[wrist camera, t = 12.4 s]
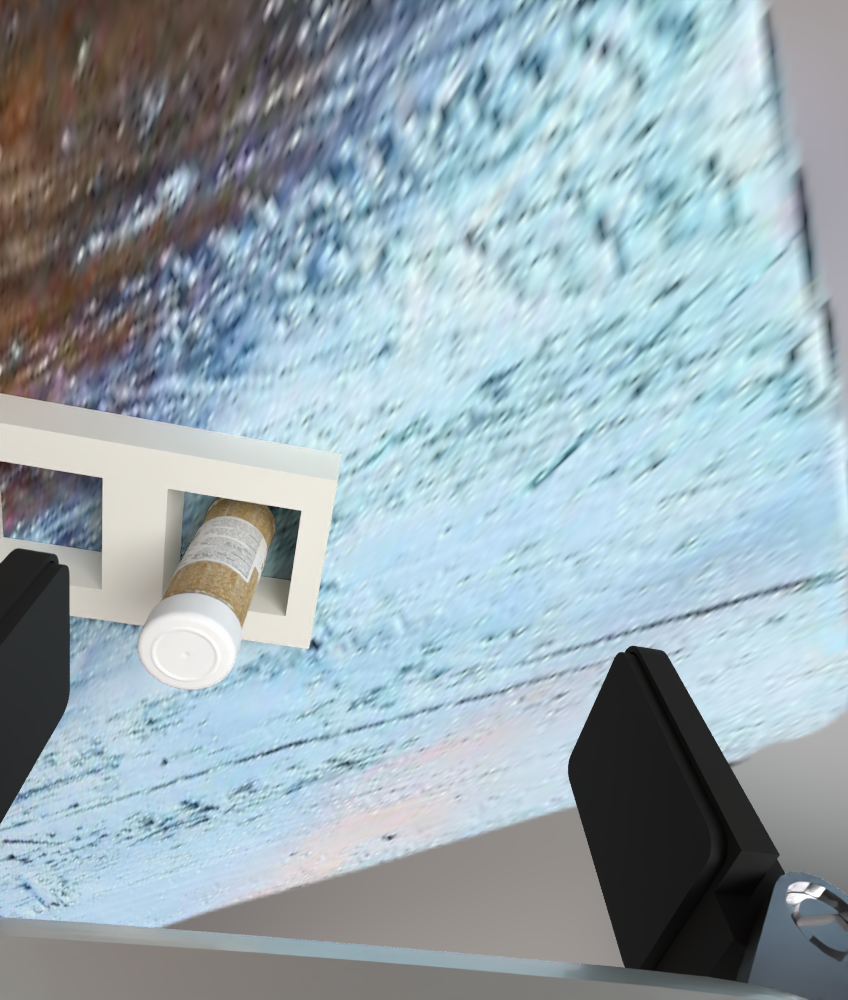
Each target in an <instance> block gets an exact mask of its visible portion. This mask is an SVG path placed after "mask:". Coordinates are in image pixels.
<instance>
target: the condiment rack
mask: <svg viewBox="0 0 848 1000" xmlns="http://www.w3.org/2000/svg"><path fill="white" fill-rule="evenodd" d="M341 459H342V454H339V453H333V452H328V451H322V450H316V449H311V448H305V447H299V446H294V445H288V444H283V443H277V442H271V441H266V440H260V439H254V438H249V437H243V436H238V435H232V434H226V433H221V432H215V431H209V430H204V429H198V428H193V427H187V426H181V425H176V424H170V423H164V422H159V421H153V420H147V419H142V418H136V417H131V416H125V415H119V414H114V413H108V412H102V411H97V410H91V409H86V408H80V407H74V406H69V405H63V404H57V403H52V402H46V401H41V400H35V399H29V398H24V397H18V396H12V395H7V394H1V393H0V461H3V462H9V463H15V464H21V465H27V466H34V467H40V468H46V469H52V470H58V471H64V472H70V473H76V474H82V475H88V476H94V477H100V478H103V500H102V552H98V551H92V550H85V549H79V548H72V547H65V546H59V545H52V544H46V543H39V542H32V541H26V540H19V539H12V538H6V537H3V521H2V506H1V490H0V563H1V562H2V561H3V560H4V559H5V558H6V557H7V555H8V554H9V553H10V552H11V551H13V550H14V549H17V548H21V549H27V550H33V551H40V552H46V553H52V554H55V555H57V557H58V560H59V564H63V565H67V566H68V568H69V573H70V616H76V617H83V618H91V619H98V620H105V621H112V622H119V623H127V624H134V625H141V626H144V624H145V622H146V620H147V618H148V616H149V614H150V613H151V611H152V609H153V608H154V607H155V606H156V605H157V604H158V603H159V602H160V601H161V600H162V598H163V596H164V595H165V593H166V591H167V589H168V587H169V585H170V581H171V579H172V577H173V575H174V573H175V571H176V569H177V568H178V566H179V564H180V555H181V540H182V525H183V510H184V495H185V492H191V493H197V494H203V495H209V496H215V497H221V498H227V499H233V500H239V501H245V502H251V503H257V504H264V505H270V506H276V507H282V508H288V509H294V510H300V511H301V518H300V524H299V531H298V538H297V544H296V551H295V558H294V564H293V571H292V577H291V581H290V580H284V579H277V578H270V577H264V576H260V580H259V583H258V585H257V587H256V590H255V593H254V597H253V599H252V601H251V604H250V607H249V610H248V612H247V616H246V618H245V621H244V624H243V627H242V640H249V641H257V642H264V643H271V644H278V645H286V646H293V647H300V648H307V649H309V645H310V639H311V633H312V627H313V622H314V616H315V610H316V604H317V599H318V593H319V587H320V581H321V575H322V570H323V564H324V558H325V552H326V547H327V541H328V535H329V529H330V523H331V518H332V512H333V506H334V500H335V495H336V489H337V483H338V477H339V471H340V465H341Z"/></svg>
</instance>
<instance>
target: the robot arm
mask: <svg viewBox="0 0 848 1000" xmlns="http://www.w3.org/2000/svg"><path fill="white" fill-rule="evenodd" d="M69 692H70V573H69V568H68V566H67V565H63V564H59V560H58V557H57V555H55V554H52V553H46V552H40V551H33V550H27V549H21V548H17V549H14V550H13V551H11V552H10V553H9V554H8V555H7V557H6V558H5V559H4V560H3V561H2V562H1V563H0V824H1V822H2V820H3V818H4V817H5V815H6V813H7V812H8V810H9V808H10V806H11V805H12V803H13V801H14V799H15V798H16V796H17V794H18V792H19V791H20V789H21V787H22V785H23V784H24V782H25V780H26V778H27V777H28V775H29V773H30V772H31V770H32V768H33V766H34V765H35V763H36V761H37V759H38V758H39V756H40V754H41V752H42V751H43V749H44V747H45V745H46V744H47V742H48V740H49V738H50V737H51V735H52V733H53V732H54V730H55V728H56V726H57V725H58V723H59V721H60V719H61V718H62V716H63V714H64V712H65V709H66V706H67V703H68V699H69ZM568 776H569V781H570V784H571V787H572V791H573V794H574V797H575V801H576V804H577V808H578V811H579V814H580V818H581V821H582V825H583V827H584V831H585V835H586V838H587V841H588V845H589V848H590V852H591V855H592V859H593V862H594V865H595V869H596V872H597V876H598V879H599V882H600V886H601V889H602V893H603V896H604V899H605V903H606V906H607V910H608V913H609V916H610V920H611V923H612V927H613V930H614V933H615V937H616V940H617V944H618V947H619V950H620V954H621V957H622V961H623V963H624V966H625V968H622V967H612V966H601V965H590V964H589V965H588V964H579V963H567V962H556V961H544V960H533V959H523V958H512V957H500V956H489V955H478V954H466V953H455V952H444V951H432V950H420V949H407V948H396V947H384V946H372V945H361V944H348V943H336V942H324V941H312V940H300V939H287V938H275V937H263V936H251V935H238V934H225V933H213V932H212V933H211V932H200V931H187V930H174V929H161V928H148V927H135V926H122V925H110V924H97V923H84V922H69V921H53V920H36V919H20V918H3V917H0V1000H848V896H847V895H846V894H845V893H843V892H842V891H841V890H840V889H838V888H837V887H836V886H834V885H833V884H830V883H829V882H827V881H825V880H823V879H822V878H820V877H817V876H814V875H811V874H808V873H804V872H788V873H786V874H785V873H784V871H783V869H782V867H781V865H780V864H779V862H778V860H777V858H778V857H779V853H778V851H777V849H776V848H775V846H774V844H773V842H772V840H771V839H770V837H769V835H768V833H767V832H766V830H765V828H764V826H763V824H762V823H761V821H760V819H759V817H758V816H757V814H756V812H755V810H754V808H753V807H752V805H751V803H750V801H749V800H748V798H747V796H746V794H745V793H744V791H743V789H742V787H741V785H740V784H739V782H738V780H737V778H736V776H735V775H734V773H733V771H732V769H731V768H730V766H729V764H728V762H727V761H726V759H725V757H724V755H723V753H722V752H721V750H720V748H719V746H718V745H717V743H716V741H715V739H714V737H713V736H712V734H711V732H710V730H709V729H708V727H707V725H706V723H705V721H704V720H703V718H702V716H701V714H700V713H699V711H698V709H697V707H696V705H695V704H694V702H693V700H692V698H691V697H690V695H689V693H688V691H687V689H686V688H685V686H684V684H683V682H682V681H681V679H680V677H679V675H678V674H677V672H676V670H675V668H674V666H673V665H672V663H671V661H670V659H669V658H668V656H667V655H666V653H665V652H664V651H661V650H656V649H650V648H644V647H638V646H630V647H629V648H628V649H626V651H625V653H624V652H620V653H618V654H617V655H616V657H615V658H614V661H613V663H612V665H611V667H610V670H609V672H608V674H607V676H606V678H605V681H604V683H603V685H602V687H601V690H600V692H599V694H598V696H597V698H596V701H595V703H594V705H593V707H592V709H591V712H590V714H589V716H588V718H587V721H586V723H585V725H584V727H583V729H582V732H581V734H580V736H579V738H578V741H577V743H576V745H575V747H574V749H573V752H572V754H571V756H570V759H569V764H568Z"/></svg>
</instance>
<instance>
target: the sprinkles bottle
mask: <svg viewBox="0 0 848 1000" xmlns="http://www.w3.org/2000/svg"><path fill="white" fill-rule="evenodd" d="M275 531H276V524H275V518H274V517H273V514H272V512H271V511H270V509H269V507H268V506H267V505H264V504H257V503H251V502H245V501H239V500H233V499H227V498H221V497H220V498H218V499H217V500H215V501H214V502H213V503H212V504H211V506H210V507H209V508H208V511H207V512H206V515H205V520H204V522H203V525H202V526H201V527H200V528H199V529H198V531H197V532H196V534H195V536H194V538H193V540H192V541H191V543H190V545H189V547H188V549H187V551H186V553H185V554H184V556H183V558H182V560H181V562H180V564H179V566H178V568H177V569H176V571H175V573H174V575H173V577H172V579H171V581H170V585H169V587H168V589H167V591H166V593H165V595H164V596H163V598H162V600H161V601H160V602H159V603H158V604H157V605H156V606H155V607H154V608H153V609H152V611H151V613H150V614H149V616H148V618H147V620H146V622H145V624H144V626H143V628H142V630H141V632H140V635H139V638H138V645H137V650H138V655H139V658H140V661H141V662H142V664H143V666H144V667H145V669H146V670H147V671H148V672H149V673H150V674H151V675H152V676H153V677H154V678H156V679H157V680H159V681H160V682H162V683H164V684H167V685H169V686H172V687H175V688H179V689H188V690H194V689H202V688H206V687H210V686H212V685H214V684H216V683H218V682H220V681H221V680H222V679H224V678H225V677H226V676H227V675H228V674H229V672H230V671H231V669H232V668H233V666H234V663H235V661H236V658H237V655H238V652H239V649H240V646H241V642H242V627H243V624H244V621H245V618H246V616H247V612H248V610H249V607H250V604H251V601H252V599H253V597H254V593H255V590H256V587H257V585H258V583H259V580H260V576H261V573H262V570H263V567H264V564H265V561H266V558H267V551H268V548H269V545H270V544H271V542H272V540H273V538H274V535H275Z"/></svg>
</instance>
